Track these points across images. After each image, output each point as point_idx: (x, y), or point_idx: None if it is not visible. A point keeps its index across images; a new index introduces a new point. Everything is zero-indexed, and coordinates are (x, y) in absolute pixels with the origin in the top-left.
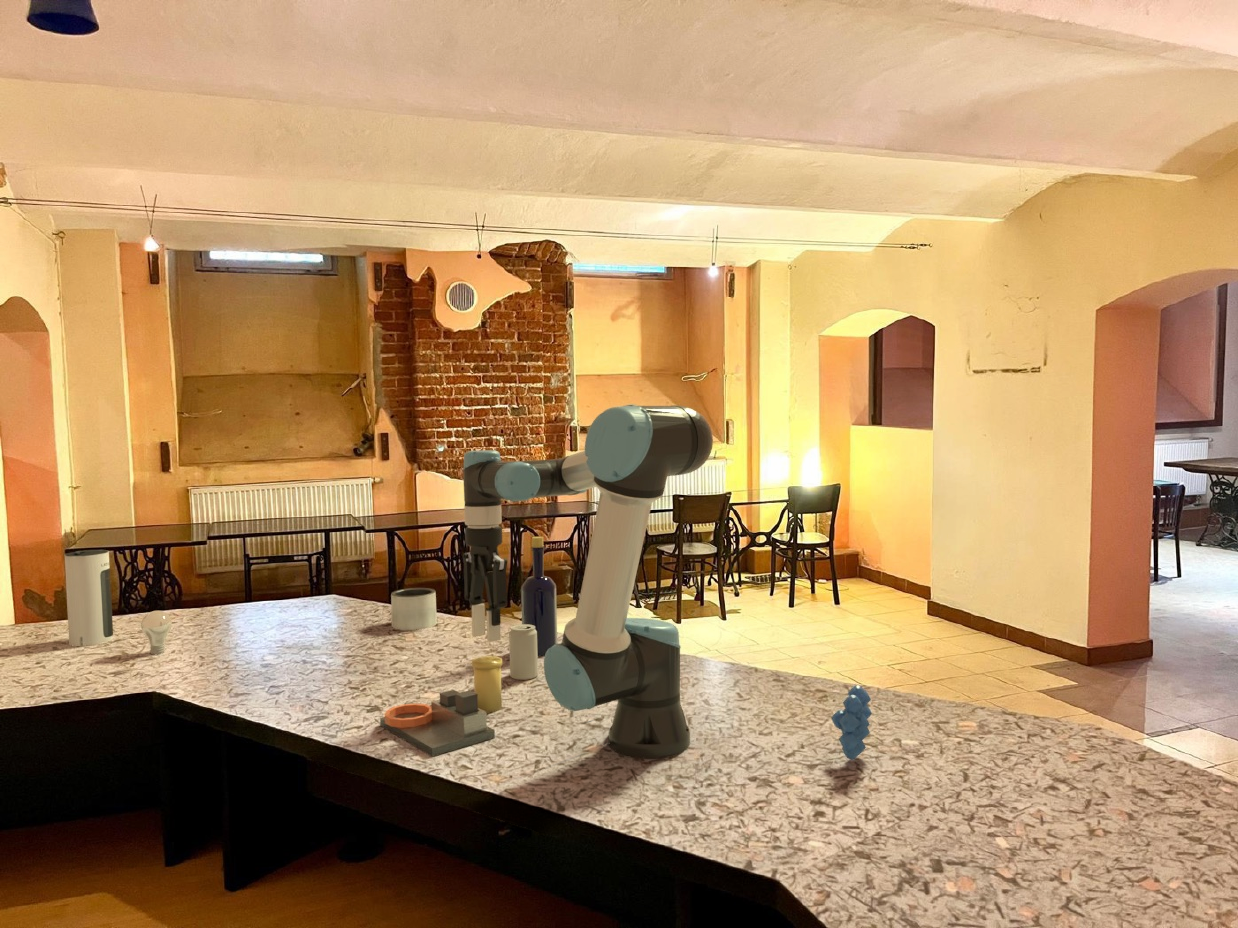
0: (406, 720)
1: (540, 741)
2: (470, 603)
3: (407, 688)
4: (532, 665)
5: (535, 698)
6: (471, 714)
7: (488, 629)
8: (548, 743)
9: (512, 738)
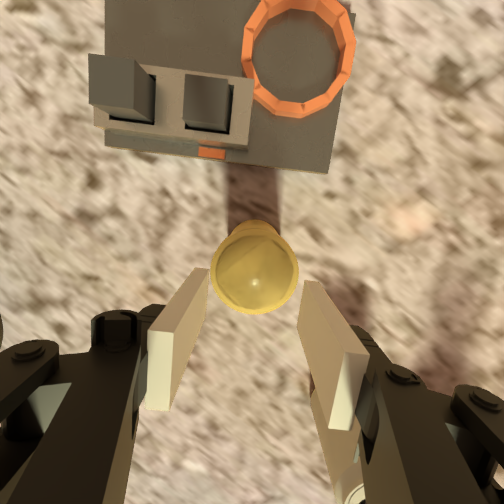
0: (255, 10)
1: (40, 192)
2: (395, 367)
3: (491, 214)
4: (316, 418)
5: (228, 334)
6: None
7: (187, 284)
8: (22, 195)
9: (87, 168)
